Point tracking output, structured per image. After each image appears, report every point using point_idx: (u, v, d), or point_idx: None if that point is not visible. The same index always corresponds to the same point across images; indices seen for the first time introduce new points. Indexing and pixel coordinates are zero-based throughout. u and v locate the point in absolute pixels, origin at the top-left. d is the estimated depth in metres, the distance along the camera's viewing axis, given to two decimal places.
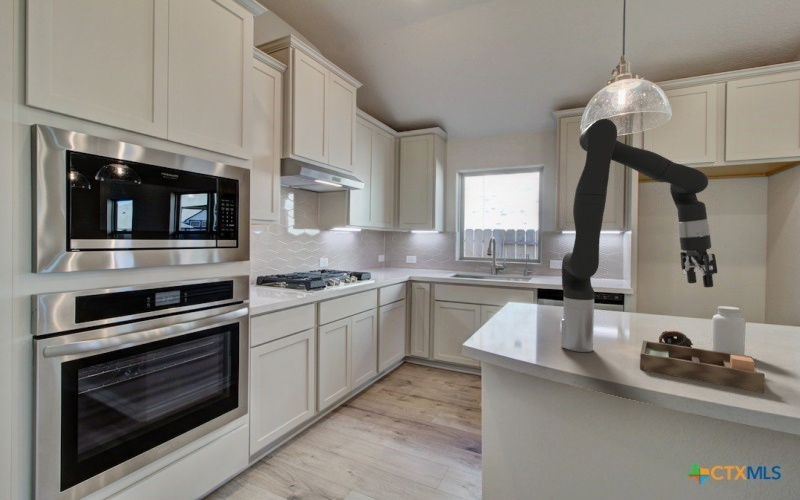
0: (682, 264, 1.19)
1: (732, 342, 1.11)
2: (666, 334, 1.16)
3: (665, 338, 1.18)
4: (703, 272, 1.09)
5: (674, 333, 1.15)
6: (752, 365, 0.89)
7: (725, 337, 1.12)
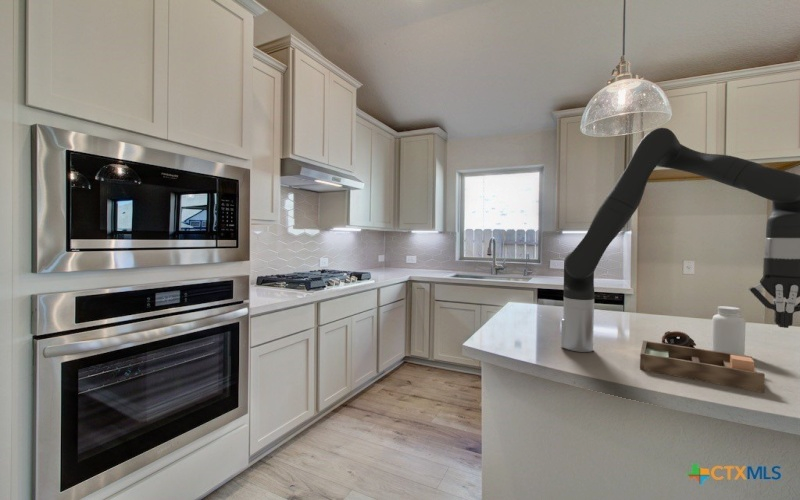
0: None
1: (732, 342, 1.11)
2: (669, 334, 1.15)
3: (668, 338, 1.17)
4: None
5: (677, 333, 1.14)
6: (752, 365, 0.89)
7: (725, 337, 1.12)
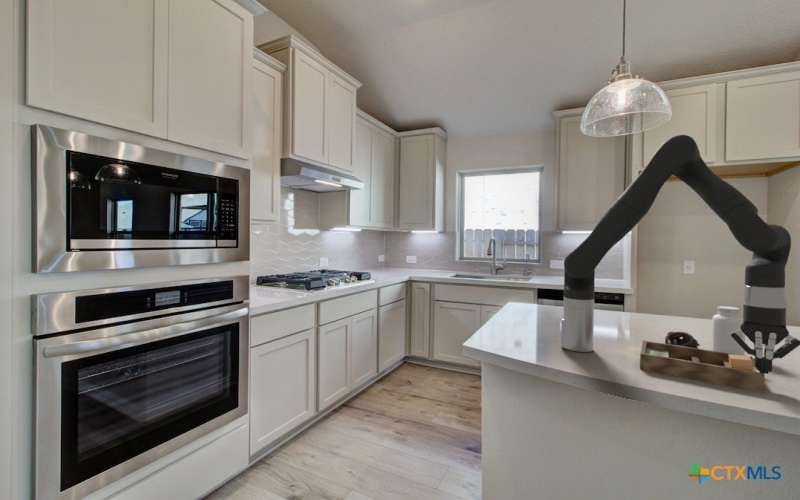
0: None
1: (732, 342, 1.11)
2: (672, 335, 1.15)
3: (671, 339, 1.17)
4: None
5: (680, 334, 1.14)
6: (750, 363, 0.89)
7: (725, 337, 1.12)
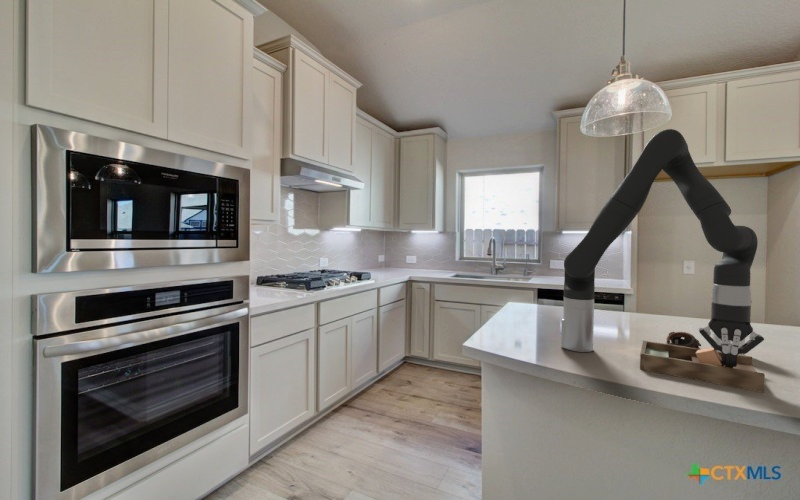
0: None
1: None
2: (674, 335, 1.15)
3: (672, 339, 1.17)
4: None
5: (682, 334, 1.14)
6: (713, 353, 0.94)
7: None
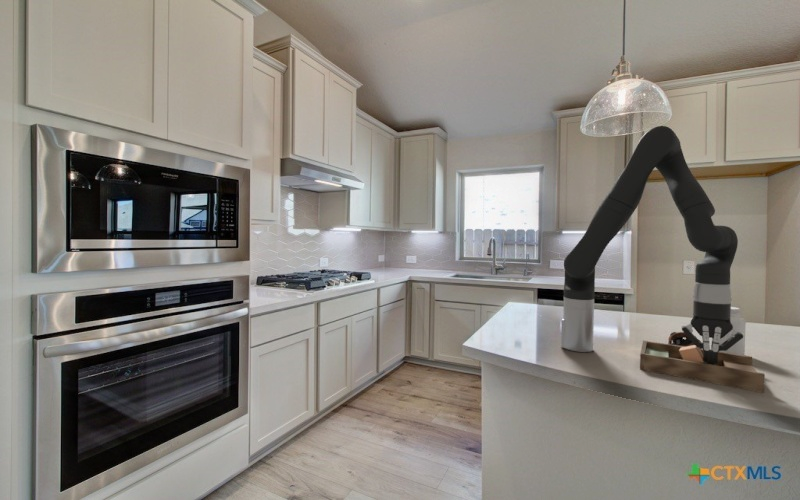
0: None
1: None
2: (675, 335, 1.15)
3: (674, 339, 1.17)
4: None
5: (684, 334, 1.14)
6: (696, 351, 0.96)
7: (725, 337, 1.12)
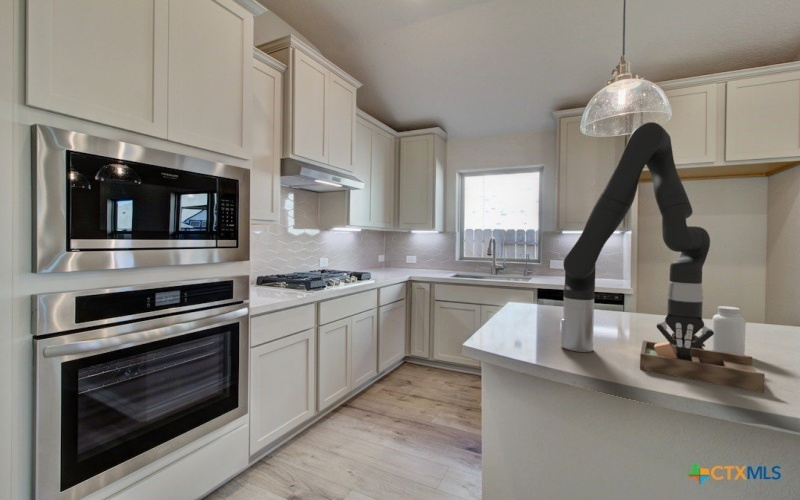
0: None
1: (732, 342, 1.11)
2: None
3: None
4: None
5: None
6: (670, 347, 0.99)
7: (725, 337, 1.12)
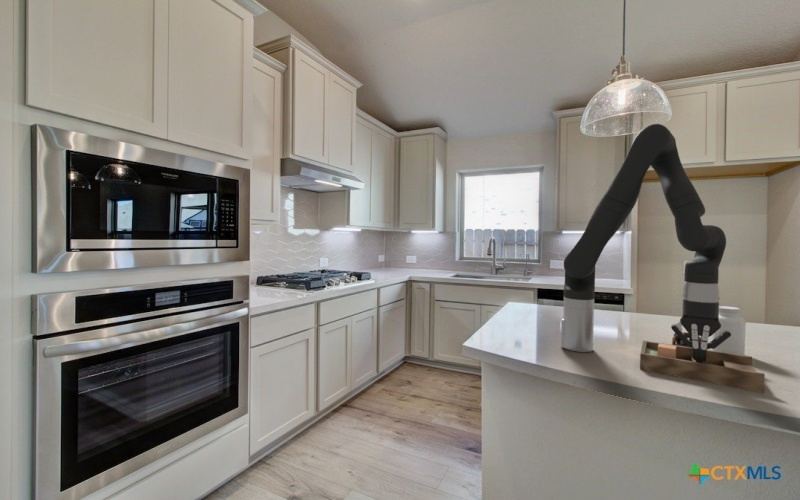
0: None
1: (732, 342, 1.11)
2: None
3: (678, 339, 1.16)
4: None
5: (687, 334, 1.13)
6: (673, 352, 0.99)
7: None
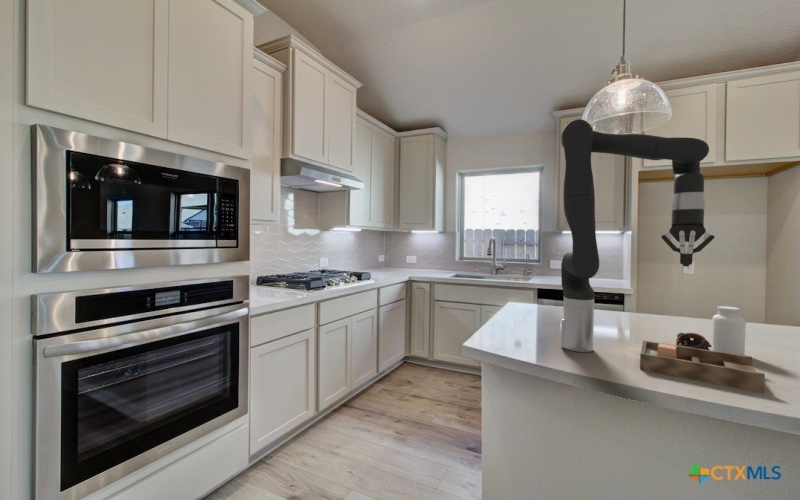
0: None
1: (732, 342, 1.11)
2: (683, 336, 1.14)
3: (681, 340, 1.16)
4: None
5: (691, 335, 1.13)
6: (673, 352, 0.99)
7: (725, 337, 1.12)
